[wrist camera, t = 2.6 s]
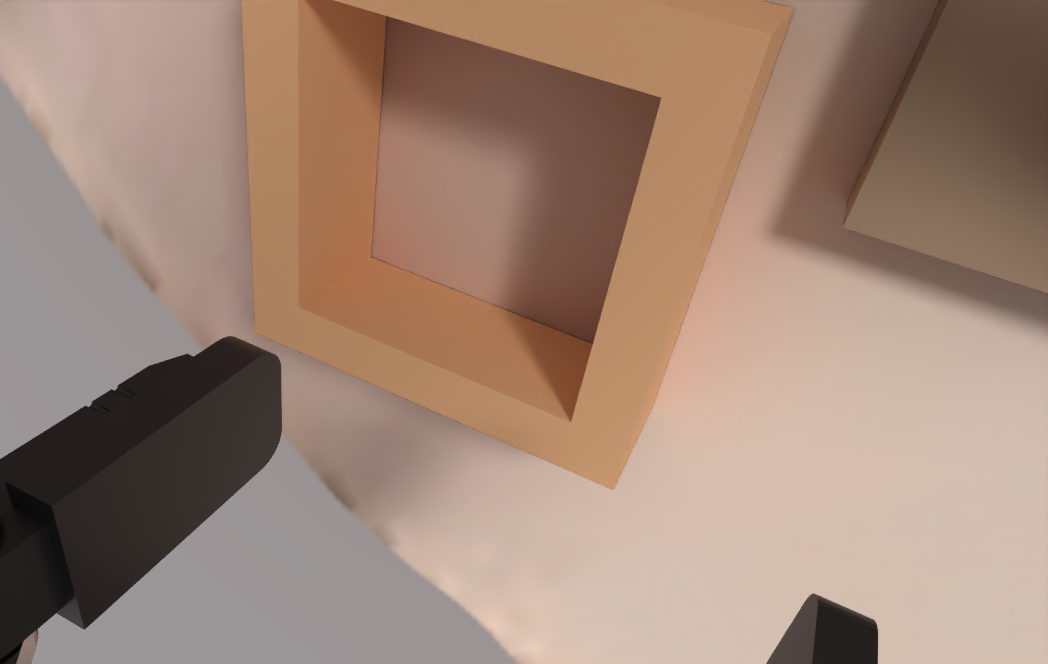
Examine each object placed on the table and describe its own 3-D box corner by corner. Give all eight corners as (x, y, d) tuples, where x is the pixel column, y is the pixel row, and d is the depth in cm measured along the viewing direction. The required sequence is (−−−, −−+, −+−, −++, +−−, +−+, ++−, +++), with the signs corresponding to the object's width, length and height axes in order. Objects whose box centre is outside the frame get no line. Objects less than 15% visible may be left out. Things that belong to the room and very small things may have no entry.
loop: (339, -107, 18) (236, -108, 15) (794, 8, 15) (772, 34, 12) (329, 281, 24) (255, 332, 21) (650, 413, 21) (613, 490, 18)
